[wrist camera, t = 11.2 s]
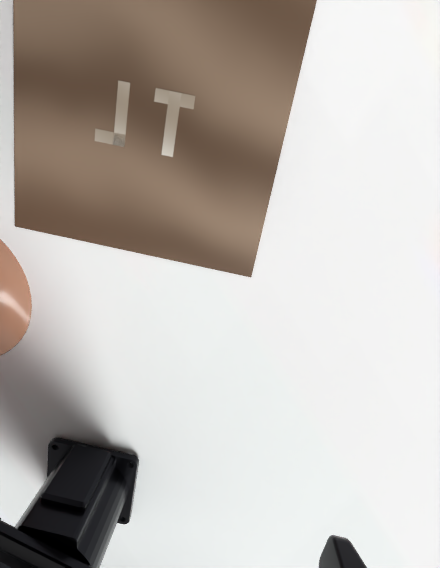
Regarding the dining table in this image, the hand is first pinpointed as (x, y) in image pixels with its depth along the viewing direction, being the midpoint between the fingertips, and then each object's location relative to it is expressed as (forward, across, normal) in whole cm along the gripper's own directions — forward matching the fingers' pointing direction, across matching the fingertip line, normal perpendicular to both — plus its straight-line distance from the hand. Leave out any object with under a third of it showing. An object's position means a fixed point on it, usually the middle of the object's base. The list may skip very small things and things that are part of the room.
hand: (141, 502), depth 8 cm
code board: (+13, +5, -9) cm, 17 cm away
